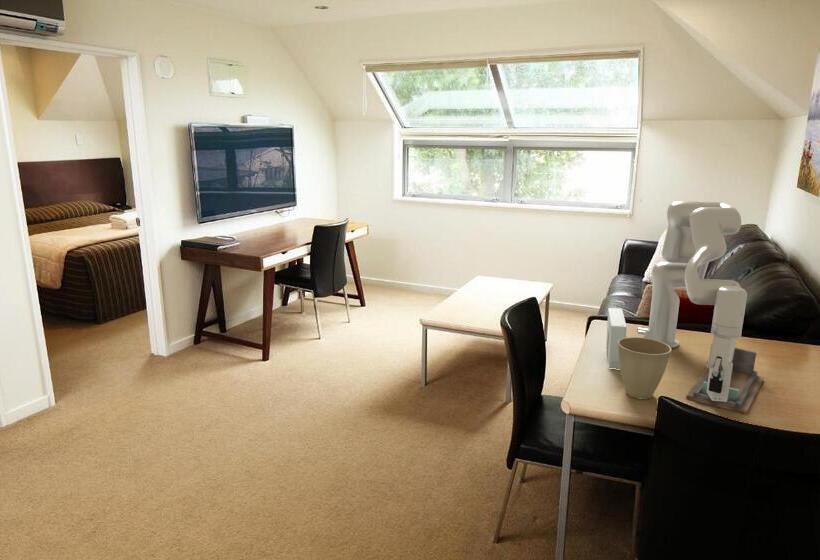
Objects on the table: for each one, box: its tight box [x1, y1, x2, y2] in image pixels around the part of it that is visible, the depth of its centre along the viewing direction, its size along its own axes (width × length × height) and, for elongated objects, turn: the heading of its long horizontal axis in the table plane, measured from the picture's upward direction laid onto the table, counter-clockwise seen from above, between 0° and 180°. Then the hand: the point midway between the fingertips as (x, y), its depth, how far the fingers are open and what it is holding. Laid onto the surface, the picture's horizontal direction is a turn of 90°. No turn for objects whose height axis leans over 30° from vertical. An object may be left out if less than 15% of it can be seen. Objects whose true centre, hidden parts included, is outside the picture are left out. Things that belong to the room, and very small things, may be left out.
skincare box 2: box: [706, 361, 733, 402], centre depth 166 cm, size 6×4×12 cm
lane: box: [686, 347, 764, 415], centre depth 178 cm, size 16×30×9 cm, turn 141°
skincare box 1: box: [605, 307, 627, 369], centre depth 201 cm, size 21×6×16 cm, turn 164°
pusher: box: [702, 381, 739, 402], centre depth 171 cm, size 9×1×4 cm, turn 51°
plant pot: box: [618, 336, 673, 400], centre depth 174 cm, size 15×15×16 cm
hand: (717, 386), depth 167 cm, fingers closed on skincare box 2, 7 cm apart
